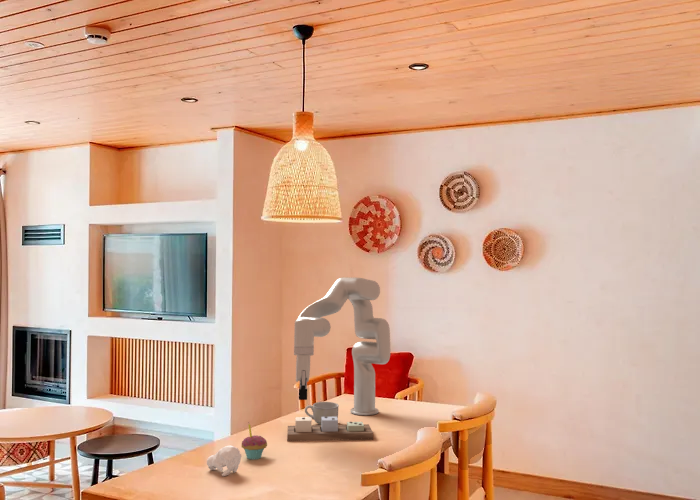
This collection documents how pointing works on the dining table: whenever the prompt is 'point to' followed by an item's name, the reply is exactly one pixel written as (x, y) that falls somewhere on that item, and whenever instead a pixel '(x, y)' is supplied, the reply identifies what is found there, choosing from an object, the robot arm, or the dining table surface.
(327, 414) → the teacup
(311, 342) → the robot arm
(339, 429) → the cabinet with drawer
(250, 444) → the cupcake
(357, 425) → the pale green block
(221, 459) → the white animal figurine
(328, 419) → the white die
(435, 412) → the dining table surface
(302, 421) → the cream square block
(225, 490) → the dining table surface
